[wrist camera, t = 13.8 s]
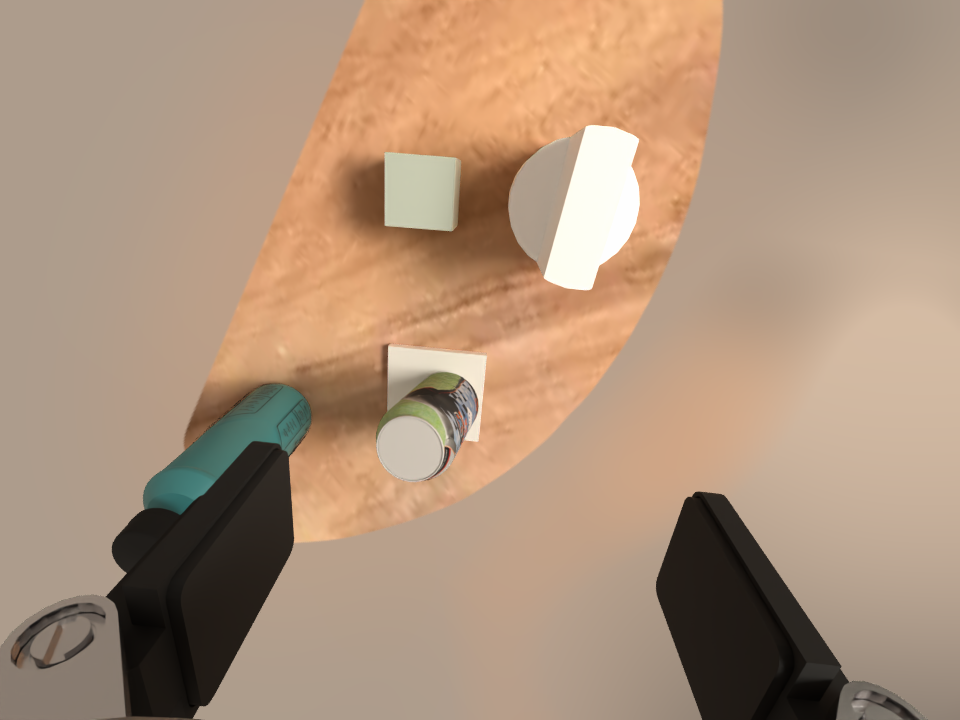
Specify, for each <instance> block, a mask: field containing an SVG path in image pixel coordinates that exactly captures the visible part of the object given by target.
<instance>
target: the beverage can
mask: <svg viewBox="0 0 960 720" xmlns="http://www.w3.org/2000/svg"><path fill="white" fill-rule="evenodd" d="M478 407H479V405H478V398H477V394H476V392H475V390H474V388H473V387H472V385H471V384H470V383H469V382H468V381H467V380H466V379H464V378H463V377H461V376H459V375H457V374H454V373H450V372H439V373H435V374H432V375H430V376H428V377H427V378H425V379H424V380H423V381H422V382H421V383H420V384H419V385H417V386H416V387H415V388H414V389H413V390H412V391H410V392H409V393H408V394H407V395H406V396H405V397H404V398H402V399H401V400H400V401H399V402H398V403H397V404H395V405H394V406H393V407H392V408H391V409H390V410H389V411H388V412H387V413H385V415H384V416H383V418H382V419H381V421H380V423H379V425H378V429H377V433H376V448H377V454H378V458H379V460H380V462H381V464H382V465H383V467H384V468H385V469H386V470H387V471H388V472H389V473H390V474H392V475H393V476H394V477H396V478H398V479H401V480H403V481H408V482H419V481H424V480H429V479H432V478H435V477H437V476H439V475H441V474H442V473H443V472H444V471H446V470H447V468H448V467H449V466H450V465H451V463H452V461H453V459H454V458H455V456H456V454H457V452H458V450H459V448H460V446H461V445H462V443H463V441H464V439H465V437H466V435H467V434H468V432H469V430H470V428H471V426H472V424H473V422H474V421H475V419H476V417H477V413H478Z"/></svg>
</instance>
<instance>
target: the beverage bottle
mask: <svg viewBox="0 0 960 720" xmlns="http://www.w3.org/2000/svg"><path fill="white" fill-rule="evenodd" d="M255 389H256V388H255ZM248 394H249V393H248ZM248 394H247V395H248ZM243 398H245V396H244V397H243ZM243 398H242V399H243ZM242 399H241V400H242ZM241 400H240V403H238V402H239V401H238V402H237V403H238V404H237V403H236V404H237V405H236V404H235V405H234V406H235V407H234V408H233V409H231V410H230V411H229V410H228V411H229V412H228V413H227V414H226V415H224V416H223V418H221V419H220V420H219V421H217V423H216V422H215V423H216V424H213V426H212V425H211V426H212V427H211V428H210V427H208V428H210V429H209V430H206V432H205V433H204V432H203V433H204V434H203V435H202V436H201V437H200V438H199V439H198V440H197V441H196V442H193V444H192V445H191V446H190V447H189V448H188V449H186V450H185V451H184V452H183V453H182V454H181V455H180V456H178V457H177V458H176V459H175V460H174V461H173V462H171V463H170V464H169V465H168V466H167V467H166V468H165V469H163V470H162V471H161V472H159V473H157V474H156V475H155V476H154V477H152V478H151V480H150V481H149V482H148V483H147V485H146V487H145V490H144V494H143V503H144V508H145V510H143V511H141V512H140V513H138V514H137V515H136V516H135V517H134V518H133V519H132V520H131V521H130V522H129V523H128V525H127V526H126V527H125V528H124V529H123V530H122V532H120V534H119V535H118V536H117V537H116V538H115V540H114V542H113V545H112V554H113V557H114V559H115V561H116V563H117V564H118V565H119V567H120V568H121V569H123V570H124V571H125V572H126V573H128V572H129V571H130V570H131V569H132V567H133V566H134V565H135V564H136V563H137V562H138V561H139V560H140V559H141V558H142V557H143V555H144V554H145V553H146V552H147V551H148V550H149V549H150V548H151V547H152V546H153V545H154V543H155V542H156V541H157V540H158V539H159V538H160V537H161V536H162V535H163V534H164V533H165V531H166V530H167V529H168V528H169V527H170V526H171V525H172V524H173V523H174V522H175V520H176V519H177V518H178V517H179V516H180V515H181V514H182V513H183V512H184V511H185V510H186V508H187V507H188V506H189V505H190V504H191V503H192V502H193V501H194V500H195V499H196V498H198V497H199V496H201V495H204V494H205V493H206V491H207V490H208V489H209V488H210V487H211V486H212V485H213V484H214V483H215V481H216V480H217V479H218V478H219V477H220V476H221V475H222V474H223V473H224V471H225V470H226V469H227V468H228V467H229V466H230V465H231V464H232V463H233V461H234V460H235V459H236V458H237V457H238V456H239V455H240V454H241V453H242V451H243V450H244V449H245V448H246V447H247V446H248V445H249V444H250V443H251V442H252V441H261V442H270V443H278V444H280V446H281V449H282V450H284V451H287V453H288V456H289V457H290V455H291V454H293V452H294V451H295V449H296V448H297V447H298V445H299V444H300V443H301V441H302V440H303V439H304V438H305V437H306V435H305V434H306V433H307V431H308V430H309V428H310V424H311V422H312V419H311V409H310V406H309V404H308V402H307V400H306V399H305V398H304V397H303V395H302V394H300V393H299V392H298V391H297V390H295V389H293V388H292V387H289V386H287V385H283V384H266V385H264V386H263V385H261V387H259V388H257V389H256V390H254V391H253V392H252V393H251V394H249V395H248V396H247V397H246V398H245V399H244V400H242V401H241ZM231 408H232V407H231ZM218 419H219V418H218ZM304 435H305V436H304ZM303 436H304V437H303ZM302 438H303V439H302ZM196 439H197V438H196ZM301 439H302V440H301ZM297 444H298V445H297Z"/></svg>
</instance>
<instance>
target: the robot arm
mask: <svg viewBox="0 0 960 720" xmlns="http://www.w3.org/2000/svg"><path fill="white" fill-rule="evenodd" d="M293 543H294V532H293V516H292V501H291V486H290V471H289V456H288V453H287V451H284V450H282V449H281V446H280V444H278V443H270V442H261V441H252V442H251V443H250V444H249V445H248V446H247V447H246V448H245V449H244V450H243V451H242V453H241V454H240V455H239V456H238V457H237V458H236V459H235V460H234V461H233V463H232V464H231V465H230V466H229V467H228V468H227V469H226V470H225V471H224V473H223V474H222V475H221V476H220V477H219V478H218V479H217V480H216V481H215V483H214V484H213V485H212V486H211V487H210V488H209V489H208V490H207V491H206V493H205V494H204V495H201V496H199V497H198V498H196V499H195V500H194V501H193V502H192V503H191V504H190V505H189V506H188V507H187V508H186V510H185V511H184V512H183V513H182V514H181V515H180V516H179V517H178V518H177V519H176V520H175V522H174V523H173V524H172V525H171V526H170V527H169V528H168V529H167V530H166V531H165V533H164V534H163V535H162V536H161V537H160V538H159V539H158V540H157V541H156V542H155V543H154V545H153V546H152V547H151V548H150V549H149V550H148V551H147V552H146V553H145V554H144V555H143V557H142V558H141V559H140V560H139V561H138V562H137V563H136V564H135V565H134V566H133V567H132V569H131V570H130V571H129V572H128V573H127V574H126V575H125V576H124V577H123V578H122V580H121V581H120V582H119V583H118V584H117V585H116V586H115V587H114V588H113V589H112V590H111V591H110V593H109V594H108V595H107V596H106V597H103V596H97V595H85V596H77V597H73V598H69V599H65V600H62V601H59V602H57V603H55V604H53V605H51V606H48V607H46V608H44V609H42V610H41V611H39V612H38V613H36V614H34V615H33V616H31V617H29V618H28V619H26V620H25V621H24V622H23V623H22V624H21V625H20V626H18V627H17V628H16V629H15V630H14V631H12V633H11V634H10V635H9V636H8V638H7V639H6V640H5V641H4V643H3V644H2V645H1V647H0V720H199V719H193V717H194V715H195V713H196V711H197V710H198V708H199V706H206V705H208V704H209V702H210V701H211V700H212V698H213V696H214V695H215V693H216V691H217V689H218V687H219V685H220V684H221V682H222V680H223V678H224V676H225V674H226V672H227V671H228V669H229V667H230V665H231V663H232V661H233V660H234V658H235V656H236V654H237V652H238V650H239V648H240V646H241V645H242V643H243V641H244V639H245V637H246V635H247V634H248V632H249V630H250V628H251V626H252V624H253V623H254V621H255V619H256V617H257V615H258V613H259V611H260V609H261V608H262V606H263V604H264V602H265V600H266V598H267V597H268V595H269V593H270V591H271V589H272V587H273V585H274V584H275V582H276V580H277V578H278V576H279V574H280V573H281V571H282V569H283V567H284V565H285V563H286V561H287V560H288V558H289V556H290V553H291V551H292V548H293ZM656 592H657V596H658V599H659V602H660V605H661V608H662V610H663V613H664V616H665V618H666V621H667V624H668V627H669V630H670V632H671V635H672V638H673V641H674V643H675V646H676V649H677V651H678V654H679V657H680V660H681V662H682V665H683V668H684V670H685V673H686V676H687V679H688V682H689V684H690V687H691V690H692V693H693V695H694V698H695V701H696V703H697V706H698V709H699V712H700V714H701V717H702V720H928V719H927V718H925V717H924V716H923V715H922V714H921V713H920V712H919V711H918V710H917V709H915V707H913V706H912V705H911V704H909V703H908V702H906V701H905V700H903V699H902V698H901V697H899V696H898V695H896V694H895V693H893V692H891V691H889V690H887V689H885V688H883V687H881V686H879V685H875V684H872V683H869V682H865V681H852V682H850V683H849V681H848V680H847V679H846V677H845V675H844V674H843V672H842V671H841V669H840V668H841V665H840V664H839V662H838V661H837V659H836V658H835V656H834V655H833V653H832V652H831V650H830V649H829V647H828V646H827V644H826V643H825V641H824V640H823V639H822V637H821V636H820V634H819V633H818V631H817V630H816V628H815V627H814V625H813V624H812V622H811V621H810V619H809V618H808V617H807V615H806V614H805V612H804V611H803V609H802V608H801V606H800V605H799V603H798V602H797V600H796V599H795V597H794V596H793V595H792V593H791V592H790V590H789V589H788V587H787V586H786V584H785V583H784V581H783V580H782V578H781V577H780V576H779V574H778V573H777V571H776V570H775V568H774V567H773V565H772V564H771V562H770V561H769V559H768V558H767V556H766V555H765V554H764V552H763V551H762V549H761V548H760V546H759V545H758V543H757V542H756V540H755V539H754V537H753V536H752V534H751V533H750V532H749V530H748V529H747V527H746V526H745V525H744V523H743V521H742V520H741V518H740V517H739V515H738V514H737V513H736V511H735V510H734V508H733V507H732V505H731V504H730V502H729V501H728V499H727V498H726V497H725V496H724V495H722V494H716V493H707V492H695V493H694V494H693V496H692V497H687V498H686V500H685V501H684V504H683V507H682V510H681V513H680V515H679V518H678V521H677V524H676V527H675V529H674V532H673V535H672V538H671V541H670V544H669V546H668V549H667V552H666V555H665V558H664V561H663V563H662V566H661V569H660V572H659V575H658V577H657V581H656Z"/></svg>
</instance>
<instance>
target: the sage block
mask: <svg viewBox="0 0 960 720" xmlns="http://www.w3.org/2000/svg"><path fill="white" fill-rule="evenodd" d="M460 177H461V160H459V159H457V158H454V157H442V156H429V155H416V154H404V153H391V152H385V226H393V227H405V228H418V229H430V230H442V231H453V230H454V229H455V228H456V227H457V226H458V213H459V195H460Z"/></svg>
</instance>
